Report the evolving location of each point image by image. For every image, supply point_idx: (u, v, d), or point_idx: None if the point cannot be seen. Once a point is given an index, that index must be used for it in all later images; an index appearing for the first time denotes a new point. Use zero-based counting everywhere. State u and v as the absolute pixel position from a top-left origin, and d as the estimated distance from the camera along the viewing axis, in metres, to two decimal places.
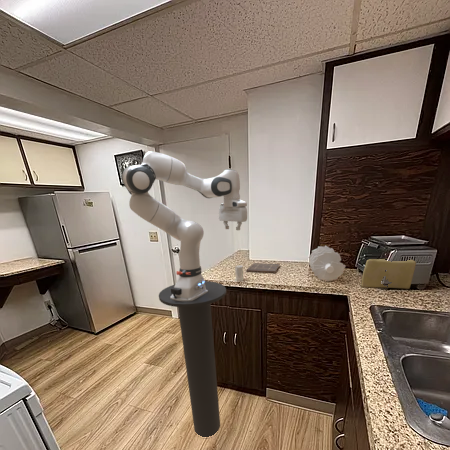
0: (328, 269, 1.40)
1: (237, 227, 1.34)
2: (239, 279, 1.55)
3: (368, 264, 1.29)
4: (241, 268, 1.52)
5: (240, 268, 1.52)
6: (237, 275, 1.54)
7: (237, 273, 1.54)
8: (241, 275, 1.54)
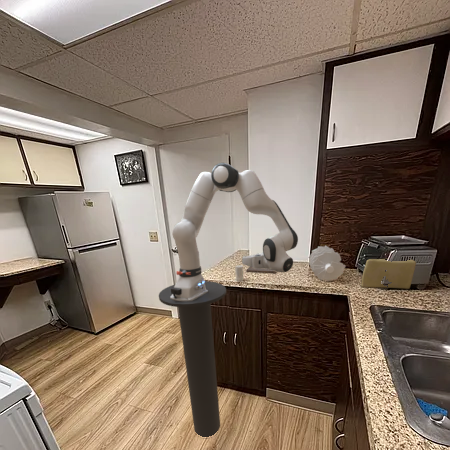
0: (328, 269, 1.40)
1: (245, 256, 1.37)
2: (239, 279, 1.55)
3: (368, 264, 1.29)
4: (241, 268, 1.52)
5: (240, 268, 1.52)
6: (237, 275, 1.54)
7: (237, 273, 1.54)
8: (241, 275, 1.54)
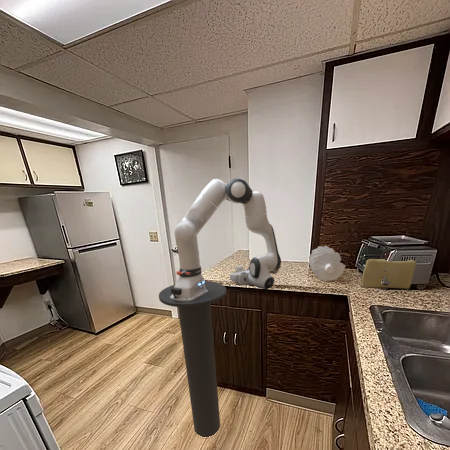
0: (328, 269, 1.40)
1: (235, 272, 1.53)
2: None
3: (368, 264, 1.29)
4: (241, 268, 1.52)
5: (240, 268, 1.52)
6: None
7: None
8: None
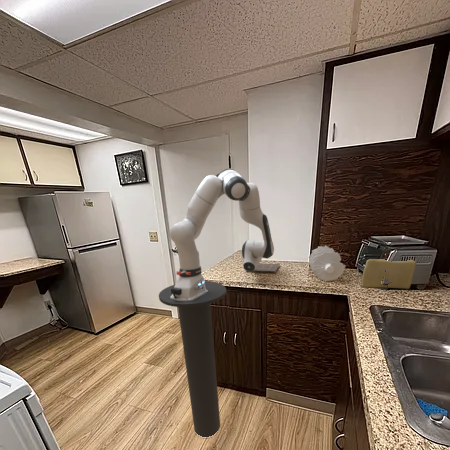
0: (328, 269, 1.40)
1: None
2: None
3: (368, 264, 1.29)
4: None
5: None
6: None
7: None
8: None
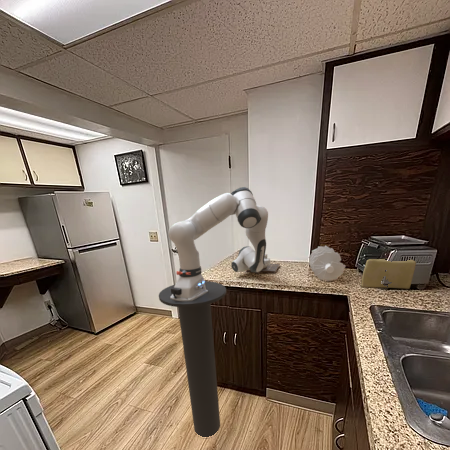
0: (328, 269, 1.40)
1: None
2: None
3: (368, 264, 1.29)
4: None
5: None
6: None
7: None
8: None
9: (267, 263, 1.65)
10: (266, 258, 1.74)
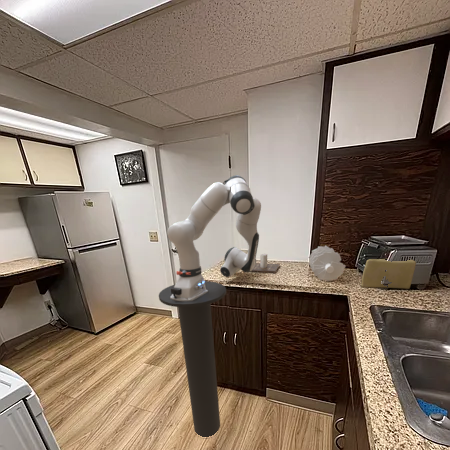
0: (328, 269, 1.40)
1: None
2: (260, 265, 1.78)
3: (368, 264, 1.29)
4: (261, 256, 1.74)
5: (260, 256, 1.75)
6: None
7: None
8: (261, 262, 1.76)
9: None
10: (266, 258, 1.74)
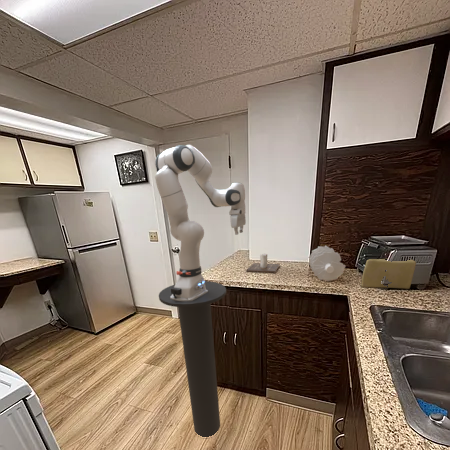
0: (328, 269, 1.40)
1: (235, 232, 1.56)
2: (260, 265, 1.78)
3: (368, 264, 1.29)
4: (261, 256, 1.74)
5: (260, 256, 1.75)
6: None
7: None
8: (261, 262, 1.76)
9: None
10: (266, 258, 1.74)
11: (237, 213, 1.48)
